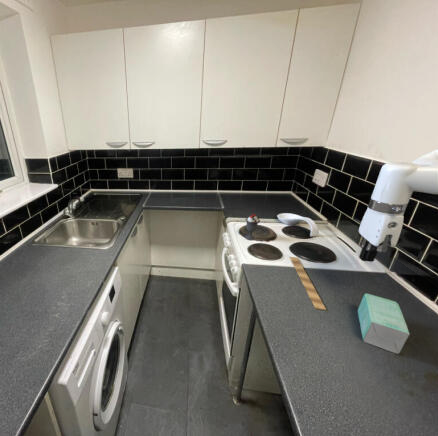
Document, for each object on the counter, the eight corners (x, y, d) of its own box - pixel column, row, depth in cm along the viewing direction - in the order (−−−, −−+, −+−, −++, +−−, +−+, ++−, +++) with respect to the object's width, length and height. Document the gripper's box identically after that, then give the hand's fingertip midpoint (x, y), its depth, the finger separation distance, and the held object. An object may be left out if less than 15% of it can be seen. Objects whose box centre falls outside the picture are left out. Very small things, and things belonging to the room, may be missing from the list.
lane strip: (289, 257, 100) (289, 256, 100) (297, 258, 100) (297, 257, 99) (315, 308, 74) (315, 307, 74) (326, 310, 73) (326, 309, 73)
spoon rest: (271, 219, 136) (274, 208, 133) (288, 217, 138) (291, 206, 135) (305, 238, 115) (308, 225, 112) (324, 235, 117) (328, 222, 114)
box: (388, 319, 69) (398, 300, 66) (399, 355, 59) (411, 335, 56) (356, 309, 73) (364, 291, 70) (362, 341, 63) (371, 322, 60)
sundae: (244, 240, 115) (248, 213, 109) (241, 234, 121) (245, 208, 115) (258, 241, 114) (263, 213, 107) (254, 235, 120) (259, 208, 113)
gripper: (423, 217, 58) (396, 275, 66) (385, 198, 71) (366, 248, 79) (387, 215, 60) (364, 272, 68) (356, 197, 73) (340, 246, 81)
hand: (365, 259), depth 73 cm, fingers closed
